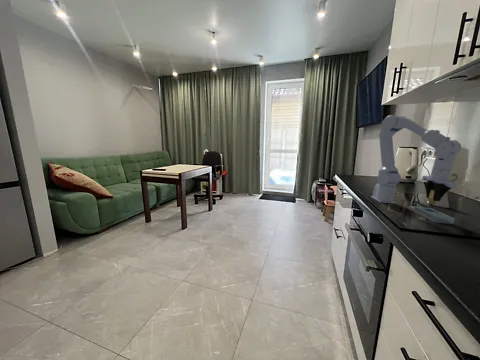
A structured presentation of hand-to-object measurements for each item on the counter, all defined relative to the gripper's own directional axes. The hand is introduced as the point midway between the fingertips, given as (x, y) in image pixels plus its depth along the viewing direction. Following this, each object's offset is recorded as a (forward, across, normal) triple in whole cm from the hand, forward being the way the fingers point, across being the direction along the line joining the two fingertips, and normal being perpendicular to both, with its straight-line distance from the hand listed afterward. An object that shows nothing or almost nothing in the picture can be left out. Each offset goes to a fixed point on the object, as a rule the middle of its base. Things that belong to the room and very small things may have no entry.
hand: (432, 199), depth 88 cm
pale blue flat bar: (+8, 0, 0) cm, 8 cm away
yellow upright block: (+2, 0, 0) cm, 2 cm away
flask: (+8, -18, +19) cm, 27 cm away
